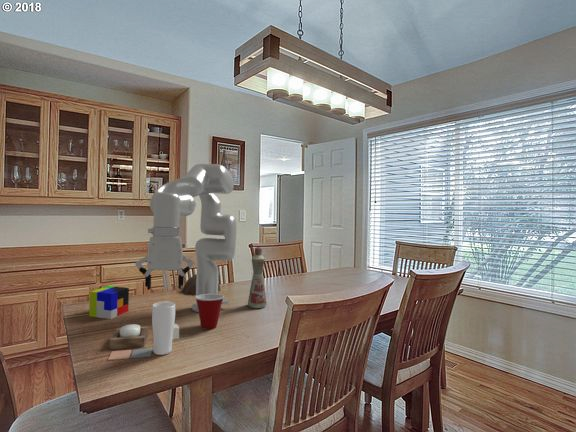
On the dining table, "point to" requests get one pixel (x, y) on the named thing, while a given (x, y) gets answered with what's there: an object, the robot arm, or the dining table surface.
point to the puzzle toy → (109, 302)
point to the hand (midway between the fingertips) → (164, 288)
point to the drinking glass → (163, 326)
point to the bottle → (257, 282)
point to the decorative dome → (192, 286)
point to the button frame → (129, 339)
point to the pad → (120, 355)
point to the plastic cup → (209, 309)
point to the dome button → (130, 330)
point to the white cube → (176, 332)
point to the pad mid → (141, 353)
